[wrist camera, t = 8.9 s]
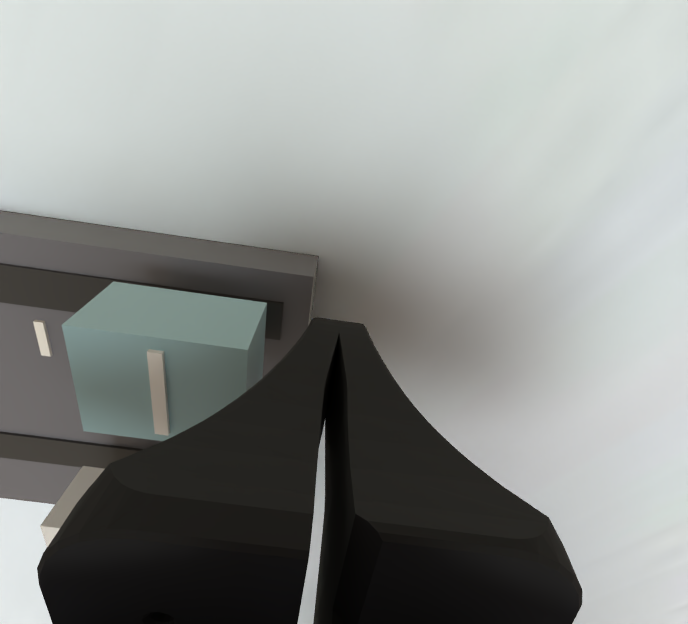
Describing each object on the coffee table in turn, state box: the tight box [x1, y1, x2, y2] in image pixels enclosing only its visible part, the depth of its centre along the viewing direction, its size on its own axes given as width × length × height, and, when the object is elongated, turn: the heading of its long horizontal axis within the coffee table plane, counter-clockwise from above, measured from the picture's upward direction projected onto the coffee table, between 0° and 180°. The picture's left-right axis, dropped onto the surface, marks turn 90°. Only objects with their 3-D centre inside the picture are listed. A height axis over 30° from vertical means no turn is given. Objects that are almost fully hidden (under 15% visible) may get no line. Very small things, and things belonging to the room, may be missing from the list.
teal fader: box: [62, 281, 267, 441], centre depth 10 cm, size 3×4×3 cm
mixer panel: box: [0, 211, 318, 504], centre depth 15 cm, size 11×14×2 cm
